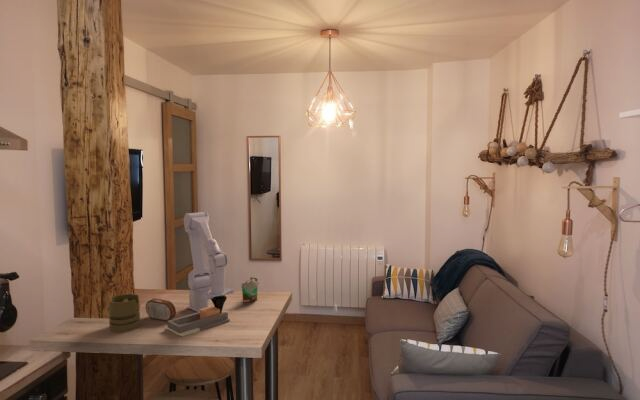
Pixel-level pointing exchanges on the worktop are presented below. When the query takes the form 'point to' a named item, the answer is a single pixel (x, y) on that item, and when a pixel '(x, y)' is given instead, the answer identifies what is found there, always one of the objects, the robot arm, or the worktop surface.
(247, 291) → the food container
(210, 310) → the block
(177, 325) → the chute
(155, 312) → the tin
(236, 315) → the worktop surface
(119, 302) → the piston
